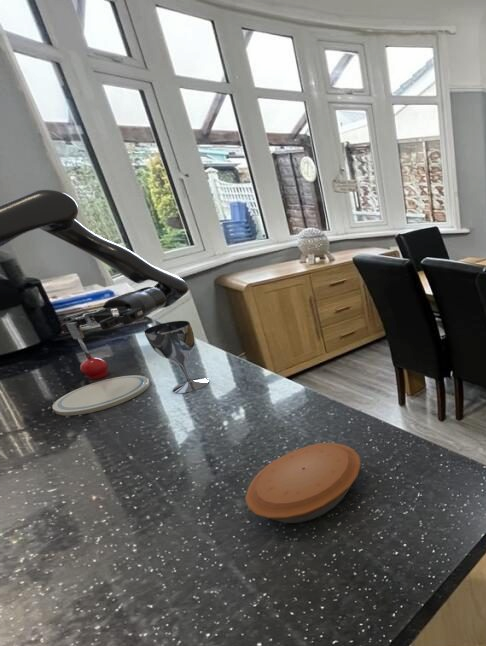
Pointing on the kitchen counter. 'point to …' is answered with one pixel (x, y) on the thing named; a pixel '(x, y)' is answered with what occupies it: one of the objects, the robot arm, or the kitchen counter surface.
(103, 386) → the plate
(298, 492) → the pie
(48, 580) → the kitchen counter surface
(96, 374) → the red bulb with handle
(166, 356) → the wine glass
